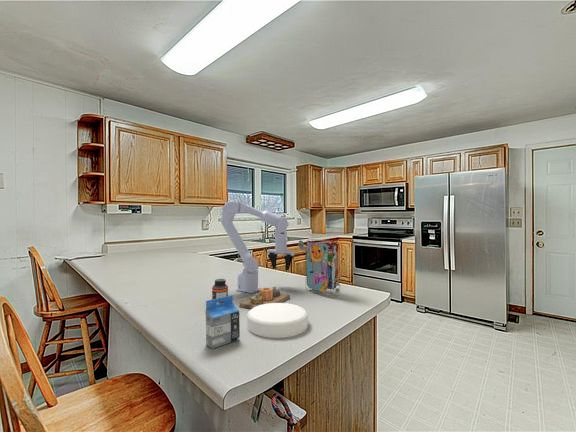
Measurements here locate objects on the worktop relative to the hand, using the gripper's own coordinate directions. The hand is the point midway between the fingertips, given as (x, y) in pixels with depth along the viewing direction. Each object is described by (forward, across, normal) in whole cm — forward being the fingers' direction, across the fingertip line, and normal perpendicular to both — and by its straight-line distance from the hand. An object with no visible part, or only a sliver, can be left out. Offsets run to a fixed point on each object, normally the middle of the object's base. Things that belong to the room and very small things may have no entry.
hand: (280, 269), depth 140 cm
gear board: (+9, -7, +22) cm, 25 cm away
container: (+10, -24, +39) cm, 47 cm away
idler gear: (+8, -7, +22) cm, 24 cm away
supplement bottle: (+10, +3, +38) cm, 39 cm away
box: (+10, -17, -4) cm, 20 cm away
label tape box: (+10, -18, +58) cm, 61 cm away
